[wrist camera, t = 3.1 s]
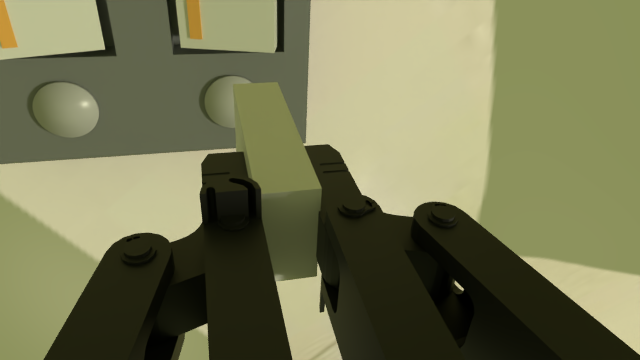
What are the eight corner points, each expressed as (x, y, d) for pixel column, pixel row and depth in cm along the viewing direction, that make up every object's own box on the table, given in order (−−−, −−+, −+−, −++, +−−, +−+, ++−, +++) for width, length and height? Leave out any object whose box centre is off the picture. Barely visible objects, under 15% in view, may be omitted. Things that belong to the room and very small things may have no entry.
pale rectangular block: (101, 42, 28) (105, 50, 27) (-8, 52, 26) (-9, 61, 25) (88, -22, 27) (92, -17, 25) (-31, -17, 24) (-33, -12, 23)
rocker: (276, 45, 30) (274, 53, 28) (187, 40, 30) (180, 48, 28) (276, -16, 28) (273, -11, 26) (180, -21, 28) (173, -16, 26)
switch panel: (295, 119, 37) (306, 145, 34) (13, 135, 33) (-8, 167, 30) (298, -49, 31) (312, -38, 27) (-52, -56, 27) (-88, -44, 23)
